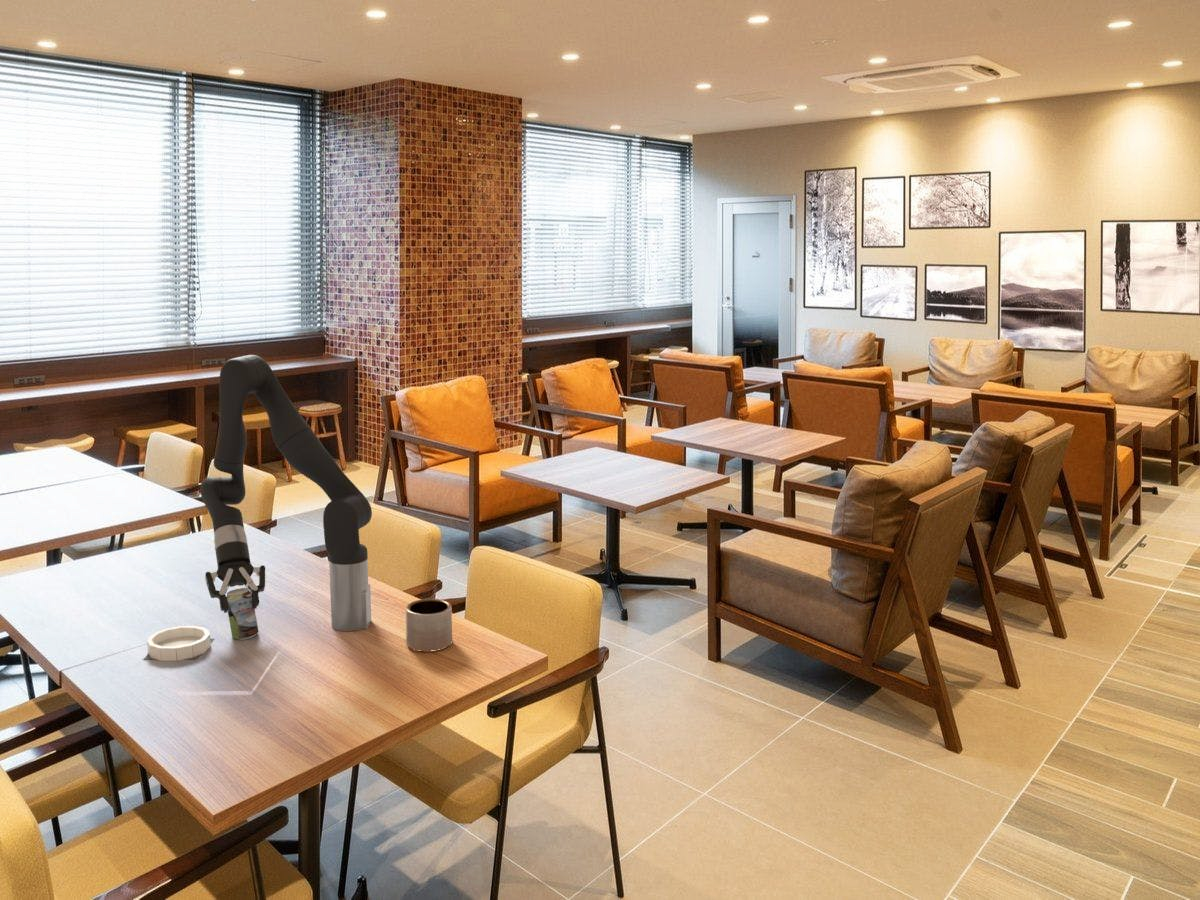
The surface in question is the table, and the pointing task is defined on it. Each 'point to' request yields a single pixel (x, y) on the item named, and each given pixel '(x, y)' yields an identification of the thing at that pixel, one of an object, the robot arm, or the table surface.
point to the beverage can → (241, 614)
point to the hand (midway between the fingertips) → (240, 609)
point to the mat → (183, 659)
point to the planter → (428, 624)
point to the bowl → (178, 643)
